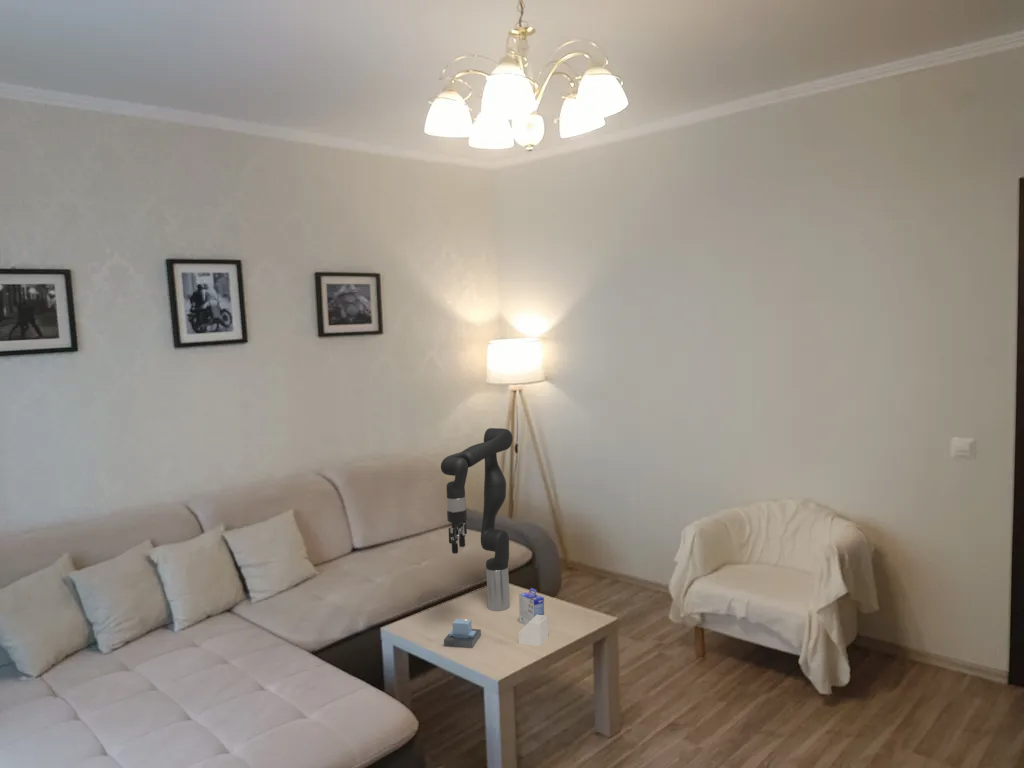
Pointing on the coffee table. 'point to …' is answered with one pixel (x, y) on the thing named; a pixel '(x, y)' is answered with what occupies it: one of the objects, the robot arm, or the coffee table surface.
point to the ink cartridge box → (530, 606)
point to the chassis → (462, 640)
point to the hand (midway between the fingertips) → (458, 549)
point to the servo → (462, 629)
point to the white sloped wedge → (534, 631)
